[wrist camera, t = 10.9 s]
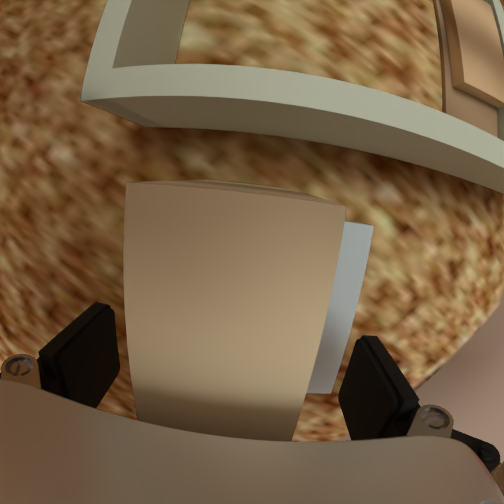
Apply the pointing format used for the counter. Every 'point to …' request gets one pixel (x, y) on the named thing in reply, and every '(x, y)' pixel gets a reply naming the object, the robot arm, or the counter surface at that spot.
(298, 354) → the sheet
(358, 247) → the mat
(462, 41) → the offcut short
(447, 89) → the block
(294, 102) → the frame
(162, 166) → the counter surface
